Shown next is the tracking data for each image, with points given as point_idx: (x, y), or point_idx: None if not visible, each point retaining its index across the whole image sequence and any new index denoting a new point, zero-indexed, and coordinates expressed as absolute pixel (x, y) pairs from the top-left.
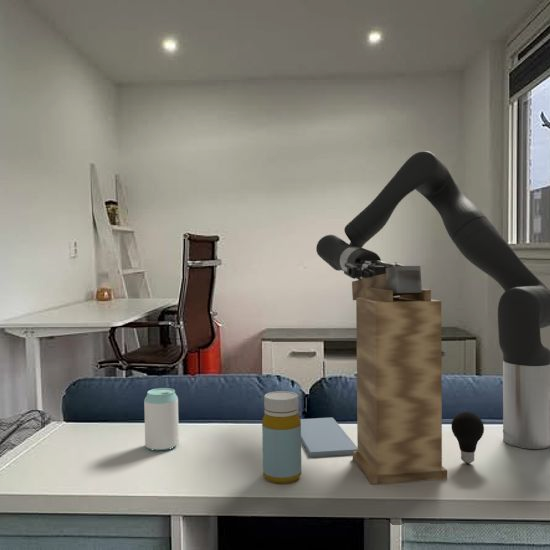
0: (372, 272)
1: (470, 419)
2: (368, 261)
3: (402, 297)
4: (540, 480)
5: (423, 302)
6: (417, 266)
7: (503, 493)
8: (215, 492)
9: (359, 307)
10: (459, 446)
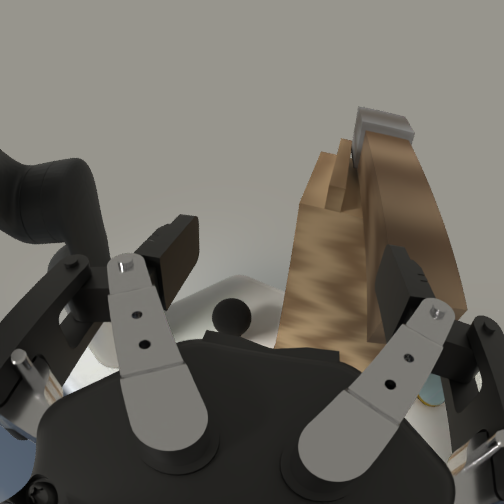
0: (400, 246)
1: (239, 300)
2: (364, 407)
3: (346, 199)
4: (207, 290)
5: (350, 159)
6: (364, 108)
7: (258, 290)
8: (478, 376)
9: None
10: (240, 335)
